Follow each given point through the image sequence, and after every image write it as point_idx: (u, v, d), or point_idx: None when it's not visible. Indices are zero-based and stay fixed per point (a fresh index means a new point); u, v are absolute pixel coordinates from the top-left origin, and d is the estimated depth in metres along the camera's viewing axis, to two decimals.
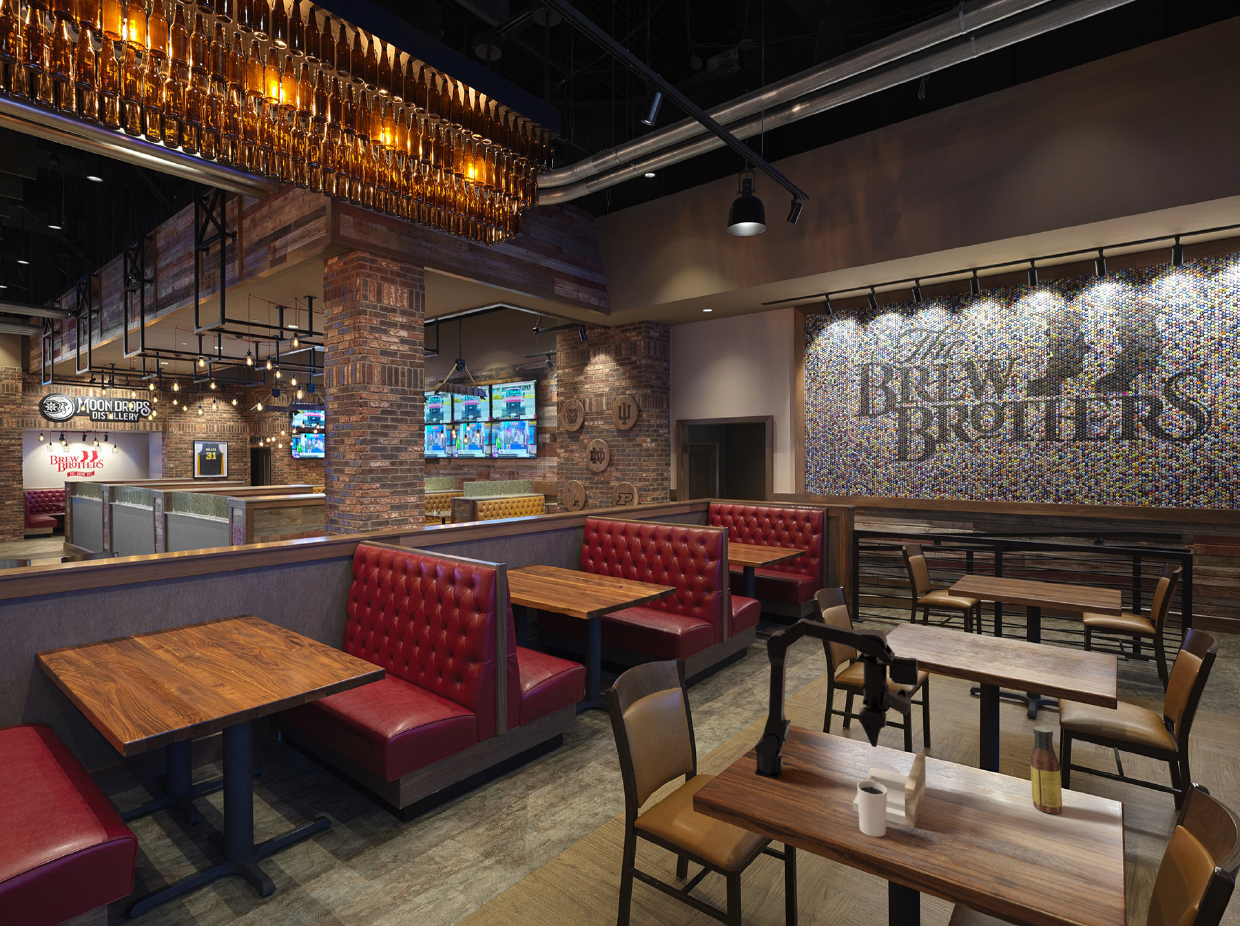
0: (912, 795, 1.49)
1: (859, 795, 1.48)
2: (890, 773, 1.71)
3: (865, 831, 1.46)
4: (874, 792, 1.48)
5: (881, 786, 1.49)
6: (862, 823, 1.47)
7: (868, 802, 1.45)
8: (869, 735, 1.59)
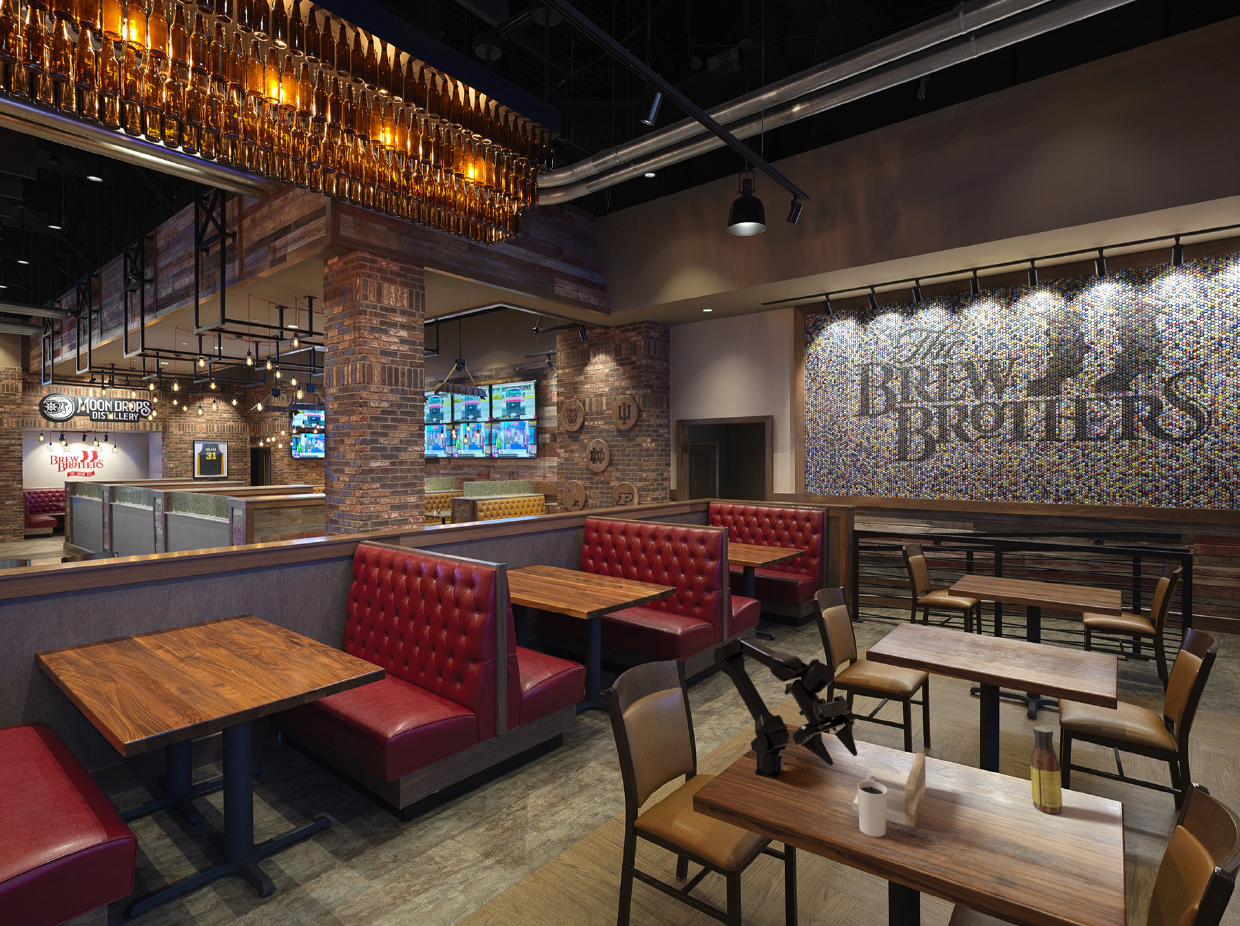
0: (912, 795, 1.49)
1: (859, 795, 1.48)
2: (890, 773, 1.71)
3: (865, 831, 1.46)
4: (874, 792, 1.48)
5: (881, 786, 1.49)
6: (862, 823, 1.47)
7: (868, 802, 1.45)
8: (820, 756, 1.54)
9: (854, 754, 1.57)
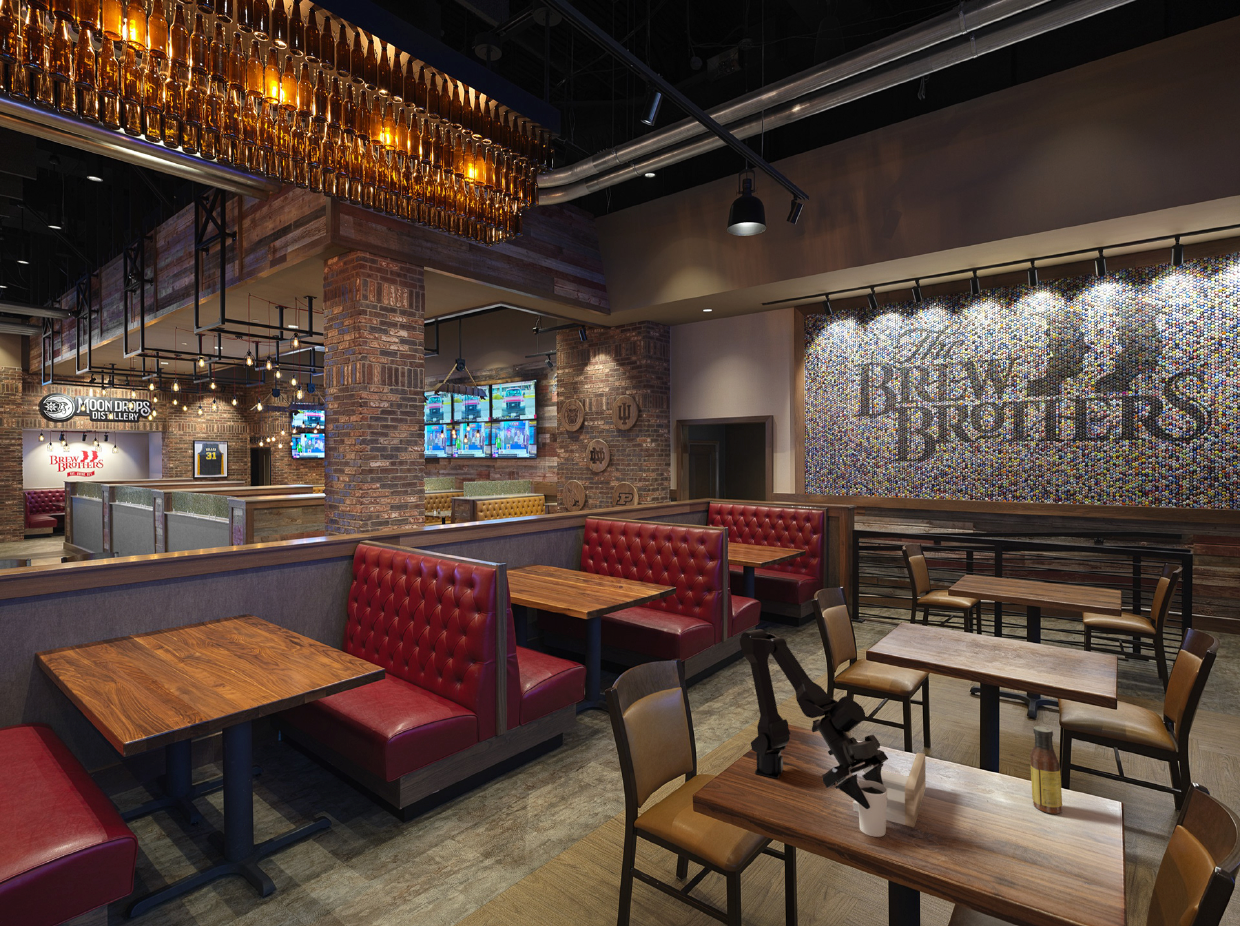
0: (912, 795, 1.49)
1: None
2: (890, 773, 1.71)
3: (865, 831, 1.46)
4: (874, 792, 1.48)
5: (881, 786, 1.49)
6: (862, 823, 1.47)
7: (868, 802, 1.45)
8: (856, 798, 1.47)
9: None
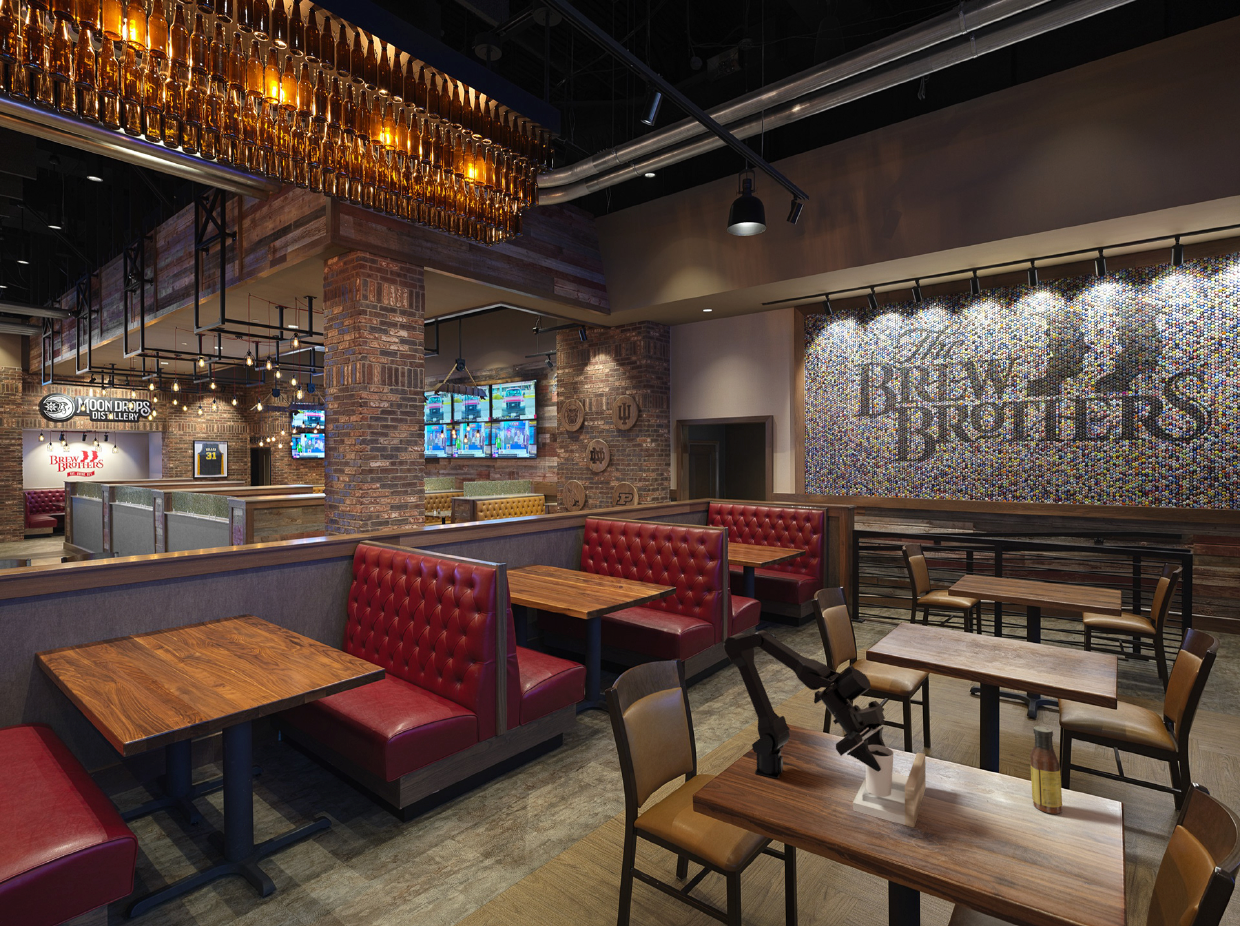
0: (912, 795, 1.49)
1: None
2: None
3: (875, 793, 1.53)
4: (881, 755, 1.55)
5: (885, 748, 1.57)
6: (871, 785, 1.53)
7: (879, 764, 1.52)
8: (867, 762, 1.53)
9: None
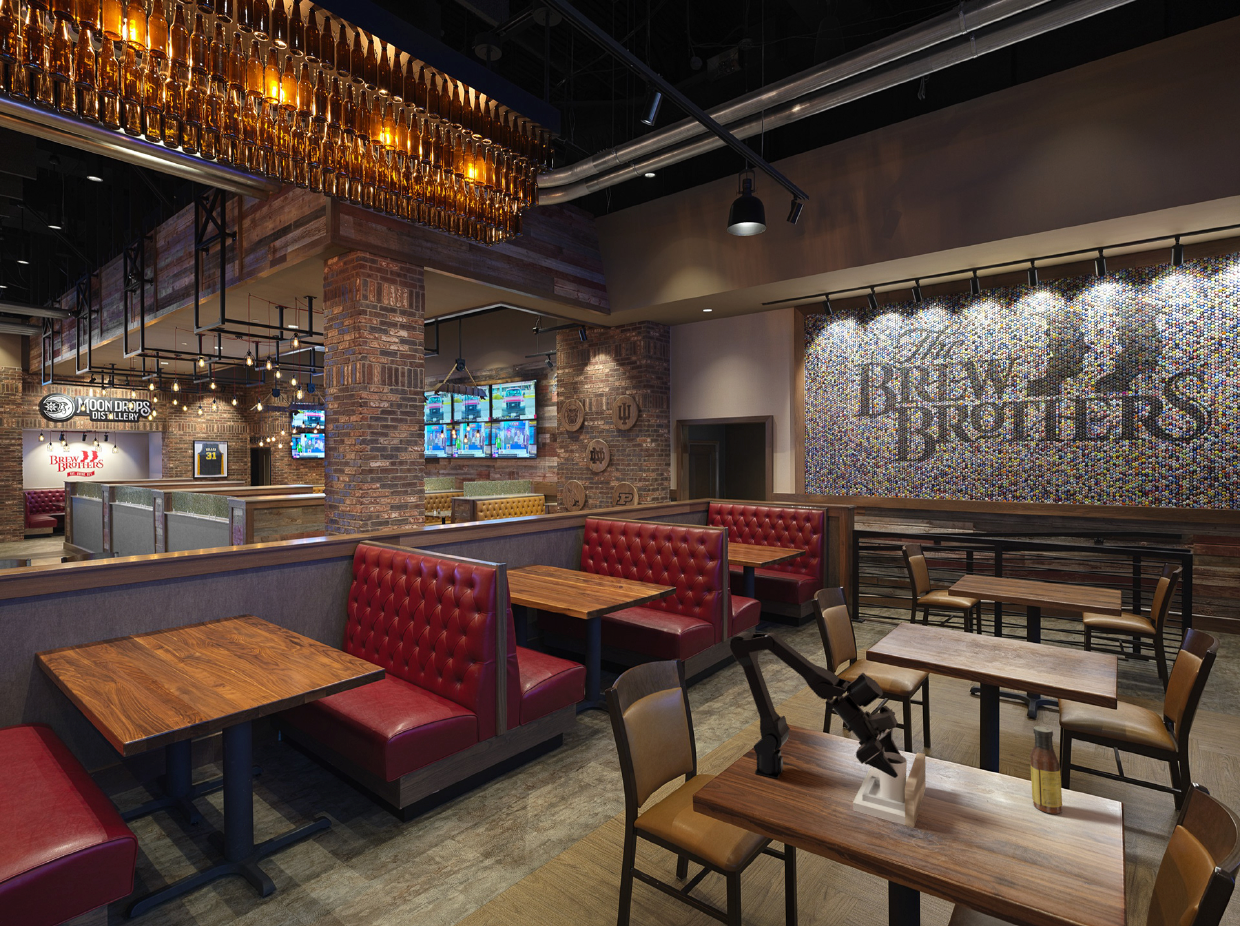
0: (912, 795, 1.49)
1: None
2: None
3: None
4: (893, 762, 1.59)
5: (895, 755, 1.61)
6: (888, 793, 1.56)
7: None
8: (884, 770, 1.55)
9: None
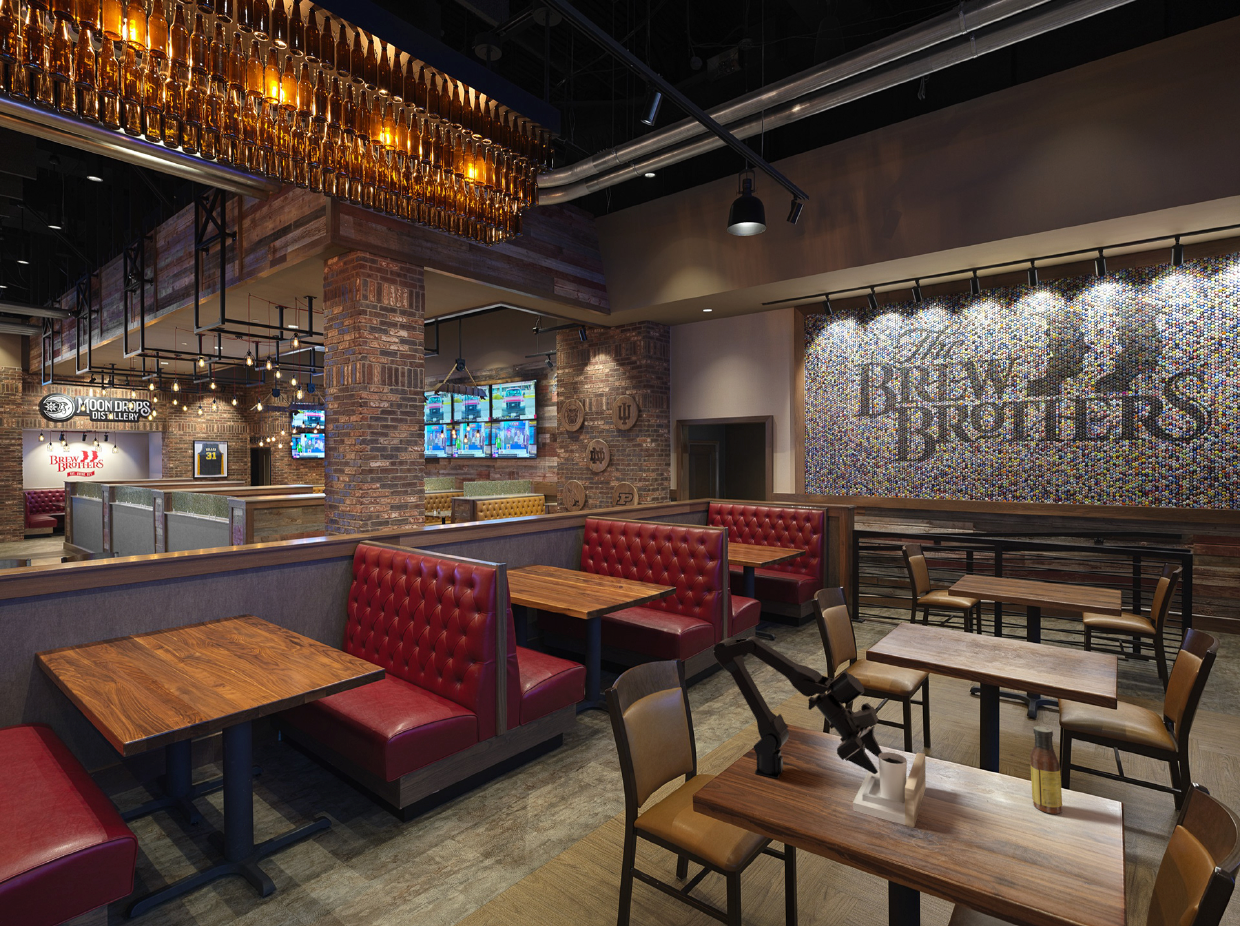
0: (912, 795, 1.49)
1: (885, 768, 1.57)
2: None
3: None
4: (894, 762, 1.59)
5: (895, 755, 1.61)
6: (888, 793, 1.56)
7: (895, 772, 1.55)
8: (864, 766, 1.57)
9: None
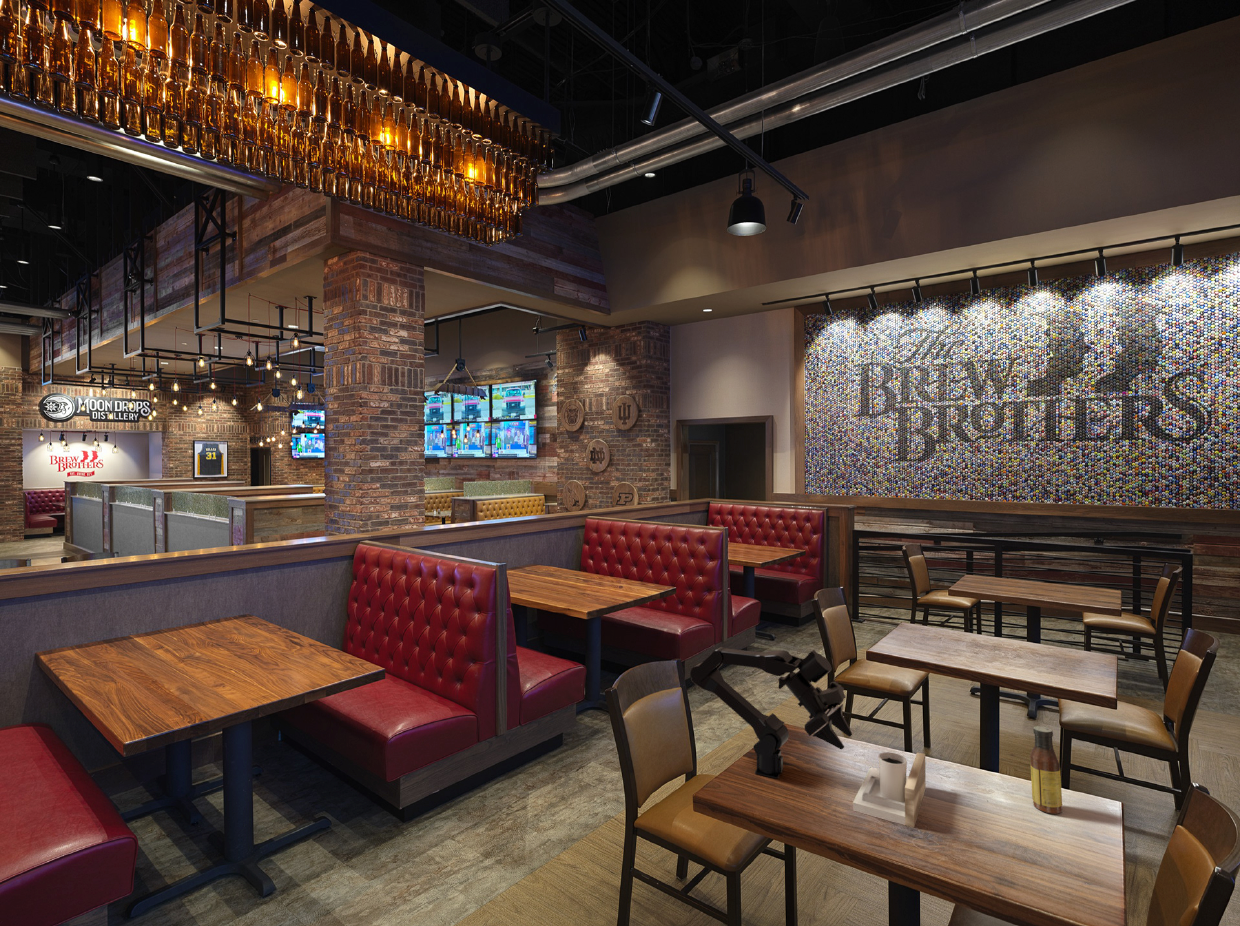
0: (912, 795, 1.49)
1: (885, 768, 1.57)
2: None
3: None
4: (894, 762, 1.59)
5: (895, 755, 1.61)
6: (888, 793, 1.56)
7: (895, 772, 1.55)
8: (831, 742, 1.62)
9: (849, 734, 1.69)
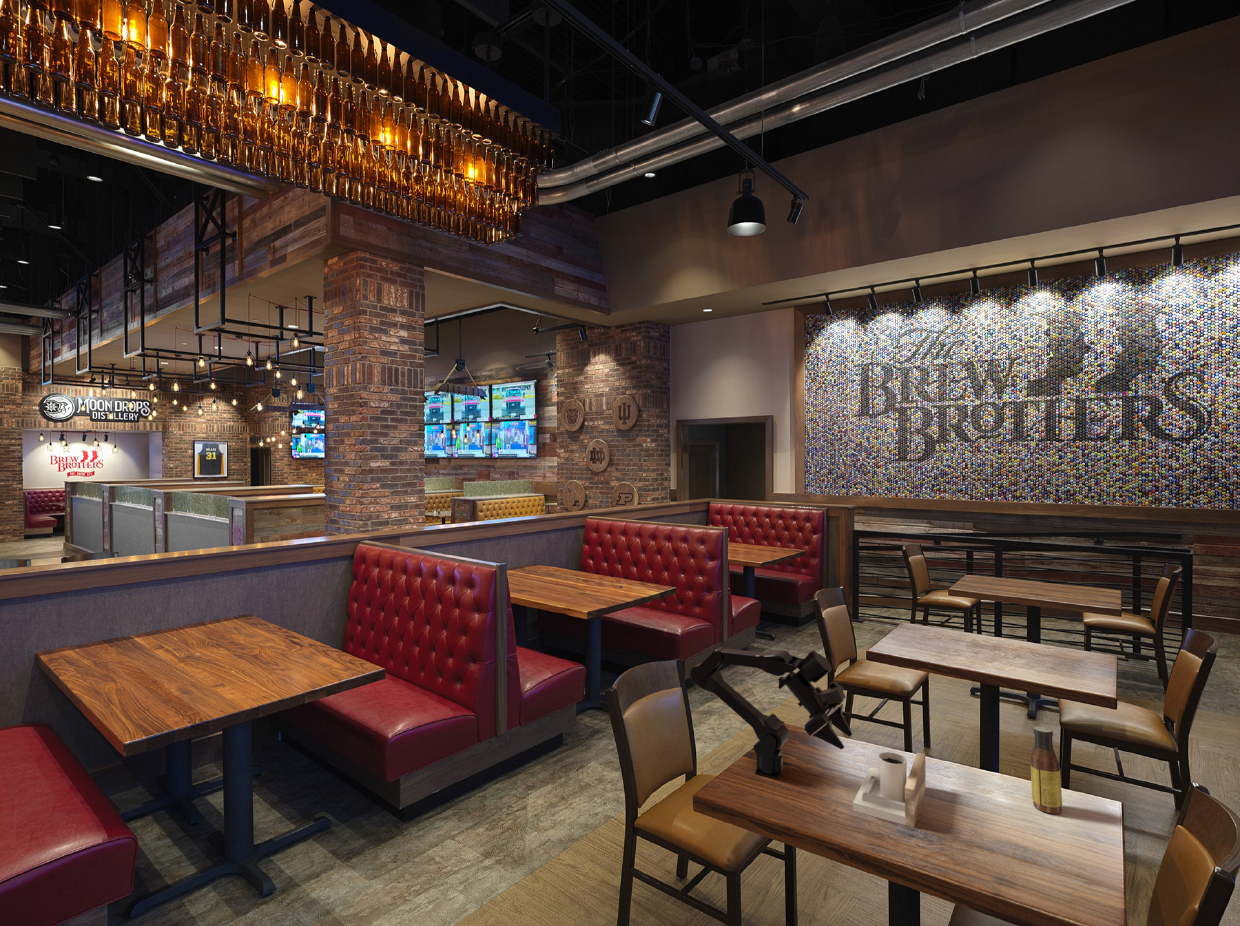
0: (912, 795, 1.49)
1: (885, 768, 1.57)
2: None
3: None
4: (894, 762, 1.59)
5: (895, 755, 1.61)
6: (888, 793, 1.56)
7: (895, 772, 1.55)
8: (831, 742, 1.62)
9: (849, 734, 1.69)
